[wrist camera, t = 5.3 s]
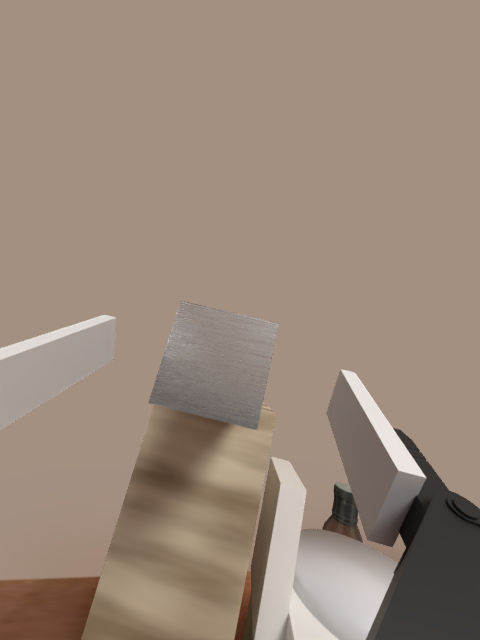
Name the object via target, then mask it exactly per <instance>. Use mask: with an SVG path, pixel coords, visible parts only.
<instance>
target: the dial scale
mask: <svg viewBox="0 0 480 640" xmlns="http://www.w3.org/2000/svg"><path fill="white" fill-rule="evenodd" d="M305 497H306V489H305V488H304V486H303V484H302V483H301V481H300V479H299V477H298V476H297V474H296V472H295V470H294V469H293V467H292V465H291V464H290V462H289V461H286V460H282V459H279V458H275V457H271V459H270V465H269V471H268V476H267V481H266V487H265V492H264V498H263V504H262V510H261V514H260V520H259V525H258V531H257V537H256V542H255V547H254V553H253V558H252V564H251V588H252V631H253V640H366V638H367V636H368V633H369V631H370V629H371V626H372V624H373V622H374V619H375V617H376V615H377V613H378V610H379V608H380V606H381V603H382V601H383V599H384V596H385V594H386V592H387V590H388V587H389V585H390V583H391V580H392V578H393V576H394V571H395V569H396V567H397V565H398V563H397V562H396V561H394V560H393V559H391V558H389V557H388V556H386V555H385V554H383V553H381V552H379V551H377V550H376V549H374V548H372V547H370V546H368V545H366V544H364V543H362V542H360V541H357V540H355V539H353V538H350V537H347V536H345V535H342V534H339V533H335V532H331V531H327V530H321V529H304V530H301V524H302V518H303V511H304V504H305Z"/></svg>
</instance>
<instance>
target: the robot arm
mask: <svg viewBox="0 0 480 640" xmlns="http://www.w3.org/2000/svg"><path fill="white" fill-rule="evenodd" d="M115 325H116V317H111V316H107V315H102V316H99V317H96V318H93V319H90V320H87V321H84V322H81V323H77V324H74V325H71V326H68V327H65V328H62V329H59V330H56V331H53V332H50V333H47V334H44V335H40V336H37V337H34V338H31V339H28V340H25V341H22V342H19V343H16V344H13V345H10V346H7V347H4V348H0V430H1V429H3V428H4V427H6V426H8V425H9V424H11V423H13V422H14V421H16V420H17V419H19V418H20V417H22V416H24V415H25V414H27V413H29V412H30V411H32V410H33V409H35V408H37V407H38V406H40V405H42V404H43V403H45V402H46V401H48V400H49V399H51V398H53V397H54V396H56V395H58V394H59V393H61V392H62V391H64V390H66V389H67V388H69V387H70V386H72V385H74V384H75V383H77V382H79V381H80V380H82V379H83V378H85V377H87V376H88V375H90V374H91V373H93V372H95V371H96V370H98V369H100V368H101V367H103V366H104V365H106V364H108V363H109V362H111V361H112V360H114V344H115ZM327 415H328V419H329V422H330V425H331V428H332V431H333V434H334V438H335V441H336V444H337V447H338V450H339V453H340V456H341V460H342V463H343V465H344V469H345V472H346V475H347V478H348V481H349V485H350V488H351V491H352V494H353V497H354V500H355V503H356V507H357V510H358V513H359V516H360V519H361V522H362V525H363V528H364V532H365V535H366V538H367V540H369V541H372V542H376V543H379V544H383V545H386V546H390V547H393V545H394V543H395V541H396V539H397V537H398V535H399V533H400V535H401V537H402V539H403V541H404V544H405V546H406V549H405V551H404V553H403V555H402V557H401V559H400V561H399V563H398V565H397V567H396V569H395V571H394V576H393V578H392V580H391V583H390V585H389V587H388V590H387V592H386V594H385V596H384V599H383V601H382V603H381V606H380V608H379V610H378V613H377V615H376V617H375V619H374V622H373V624H372V626H371V629H370V631H369V633H368V636H367V638H366V640H480V509H479V508H478V507H477V506H475V505H474V504H473V503H471V502H470V501H468V500H467V499H465V498H464V497H462V496H460V495H458V494H456V493H454V492H451V491H449V490H448V488H447V487H446V486H445V484H444V483H443V482H442V480H441V479H440V478H439V476H438V475H437V474H436V472H435V471H434V469H433V468H432V467H431V465H430V464H429V463H428V462H427V461H426V459H425V457H424V456H423V455H422V453H420V452H419V449H418V448H417V447H416V445H415V444H414V442H413V441H412V440H411V439H410V438H409V437H408V436H406V435H405V434H404V433H403V432H402V431H401V430H398V429H394V428H392V427H391V425H390V423H389V422H388V421H387V419H386V418H385V416H384V415H383V413H382V412H381V410H380V409H379V407H378V406H377V404H376V403H375V401H374V400H373V399H372V397H371V396H370V394H369V393H368V391H367V390H366V388H365V387H364V385H363V384H362V382H361V381H360V379H359V378H358V377H357V375H356V373H354V372H350V371H346V370H340V373H339V376H338V379H337V382H336V385H335V388H334V391H333V394H332V397H331V400H330V403H329V407H328V410H327Z"/></svg>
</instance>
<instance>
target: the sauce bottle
mask: <svg viewBox="0 0 480 640" xmlns="http://www.w3.org/2000/svg"><path fill="white" fill-rule="evenodd" d="M357 517H358V510H357V507H356V503H355V500H354V497H353V494H352V491H351V488H350V485H347V484H344V483H335V485H334V503H333V508H332V515H331V516H330V517H329V518H328V520H327V521H326V522H325V524H324V526H323V529H322V530H327V531H331V532H335V533H339V534H342V535H345V536H347V537H350V538H353V539H355V540H357V541H360V542H362V543H363V541H362V538H361V535H360V532H359V529H358V527H357V522H358V518H357Z"/></svg>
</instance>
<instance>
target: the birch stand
mask: <svg viewBox="0 0 480 640" xmlns="http://www.w3.org/2000/svg"><path fill="white" fill-rule="evenodd" d="M275 417H276V412H274V411H273V410H272V409H271V408H269V407H268V406H267V405H266V404H265V403H263V404H262V409H261V414H260V419H259V424H258V429H257V430H254V429H250V428H246V427H242V426H238V425H234V424H230V423H226V422H222V421H218V420H214V419H210V418H206V417H202V416H198V415H194V414H190V413H186V412H182V411H178V410H174V409H170V408H166V407H162V406H158V405H154V406H153V409H152V412H151V416H150V419H149V422H148V425H147V428H146V432H145V435H144V438H143V441H142V444H141V448H140V451H139V454H138V458H137V461H136V464H135V467H134V470H133V474H132V477H131V480H130V483H129V486H128V490H127V493H126V496H125V500H124V503H123V506H122V509H121V512H120V516H119V519H118V522H117V525H116V528H115V532H114V535H113V538H112V541H111V544H110V548H109V551H108V554H107V558H106V561H105V564H104V567H103V570H102V573H101V577H100V580H99V583H98V586H97V590H96V593H95V596H94V599H93V602H92V606H91V609H90V612H89V615H88V619H87V622H86V625H85V628H84V631H83V635H82V638H81V640H234V639H235V633H236V628H237V622H238V617H239V612H240V606H241V601H242V595H243V590H244V585H245V579H246V574H247V568H248V563H249V558H250V552H251V547H252V541H253V536H254V530H255V525H256V520H257V514H258V509H259V503H260V498H261V492H262V487H263V482H264V477H265V471H266V465H267V460H268V454H269V450H270V444H271V439H272V433H273V428H274V423H275Z"/></svg>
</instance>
